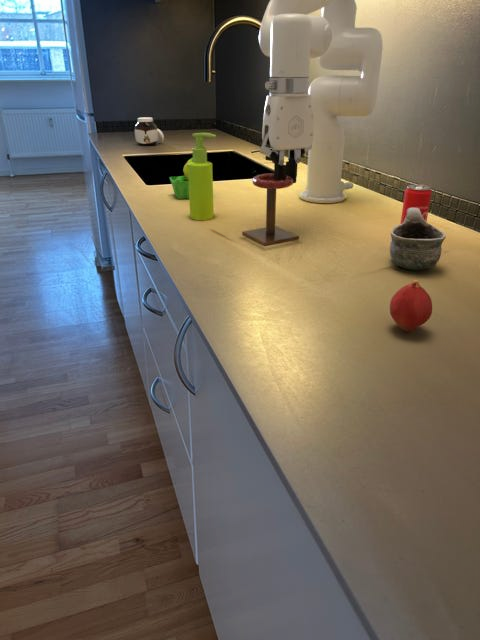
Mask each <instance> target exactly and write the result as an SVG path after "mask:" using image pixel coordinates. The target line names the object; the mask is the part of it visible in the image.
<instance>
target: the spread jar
mask: <svg viewBox="0 0 480 640" xmlns="http://www.w3.org/2000/svg"><path fill="white" fill-rule="evenodd" d="M134 138H135V142H136V144H138V145H139V146H141V147H151V146H152V147H153V146H155V145H156V144H162V143H163V142H164V141H165V135H164V133H163V131H162V130H161V129H159V128H158V126H157V125H156V123H155V122H154V118H153V117H150V116H148V117H147V116H146V117H145V116H144V117H138V118H137V123H136V124H135V126H134Z"/></svg>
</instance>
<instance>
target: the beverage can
mask: <svg viewBox="0 0 480 640" xmlns="http://www.w3.org/2000/svg"><path fill="white" fill-rule="evenodd" d="M431 189H432V187H431V186H429V185H425V184H408V185H407V186H406V189H405V190H404V196H403V204H402V209H401V210H402V211H401V217H400V224H402V223H403V222H404V220H405V218H406V212H407V210H408V209H409V208H418V209H420V212H421V215H422V217H423V219H424V220H425V221H426V222H427V223H428V216H429V210H430V203H431V197H432V190H431ZM400 224H399V225H400Z"/></svg>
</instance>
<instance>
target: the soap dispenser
mask: <svg viewBox="0 0 480 640" xmlns="http://www.w3.org/2000/svg"><path fill="white" fill-rule="evenodd" d="M191 135H192V138H195V146H194V147H192V149H191V150H192V158H193V162H190V163H188V179H189V198H188V199H189V217H190V219H192V220H193V221H194V220H195V221H208V220H212V219H213V218H214V214H215V213H214V178H213V177H214V176H213V173H214V172H213V163H212V162H211V161H208V150H207V147H205V146H204V137H205V138H206V137H207V138H212V139H213V138H216V137H217V135H216V134H214V133H210V132H194V133H192V134H191Z"/></svg>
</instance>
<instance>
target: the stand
mask: <svg viewBox="0 0 480 640" xmlns="http://www.w3.org/2000/svg"><path fill="white" fill-rule="evenodd" d="M265 205H266V208H265V209H266V210H265V227H260V228H255V229H250V230H244V231H242V232H241V236H243V237H245V238H247V239H249V240H250V241H252V242H255V243H257V244H259V245H261V246H263V247H268V246H272V245H278V244H282V243H283V244H284V243H288V242H293V241H297V240H298V241H299V240H300V235H297V234H295V233H294V232H290V231H288V230H286V229H284V228H282V227H279V226H277V225H276V214H277V189H266V204H265Z"/></svg>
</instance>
